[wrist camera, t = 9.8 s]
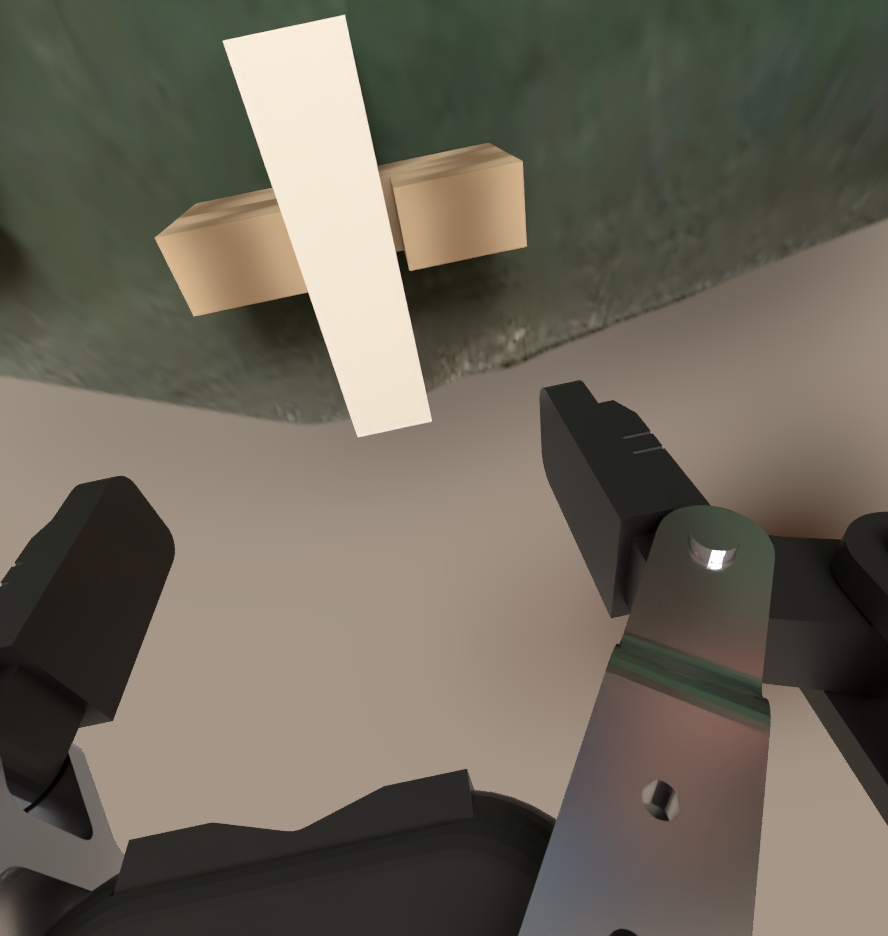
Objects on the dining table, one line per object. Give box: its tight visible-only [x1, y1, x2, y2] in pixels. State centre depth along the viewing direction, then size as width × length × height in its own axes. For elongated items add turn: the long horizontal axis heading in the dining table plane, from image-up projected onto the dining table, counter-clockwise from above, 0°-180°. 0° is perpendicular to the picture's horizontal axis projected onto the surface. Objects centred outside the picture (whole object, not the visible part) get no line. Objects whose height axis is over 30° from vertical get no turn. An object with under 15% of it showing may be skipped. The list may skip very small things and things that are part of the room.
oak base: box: [155, 143, 527, 316], centre depth 25 cm, size 16×4×7 cm, turn 100°
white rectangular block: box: [223, 15, 432, 437], centre depth 23 cm, size 14×4×12 cm, turn 10°
